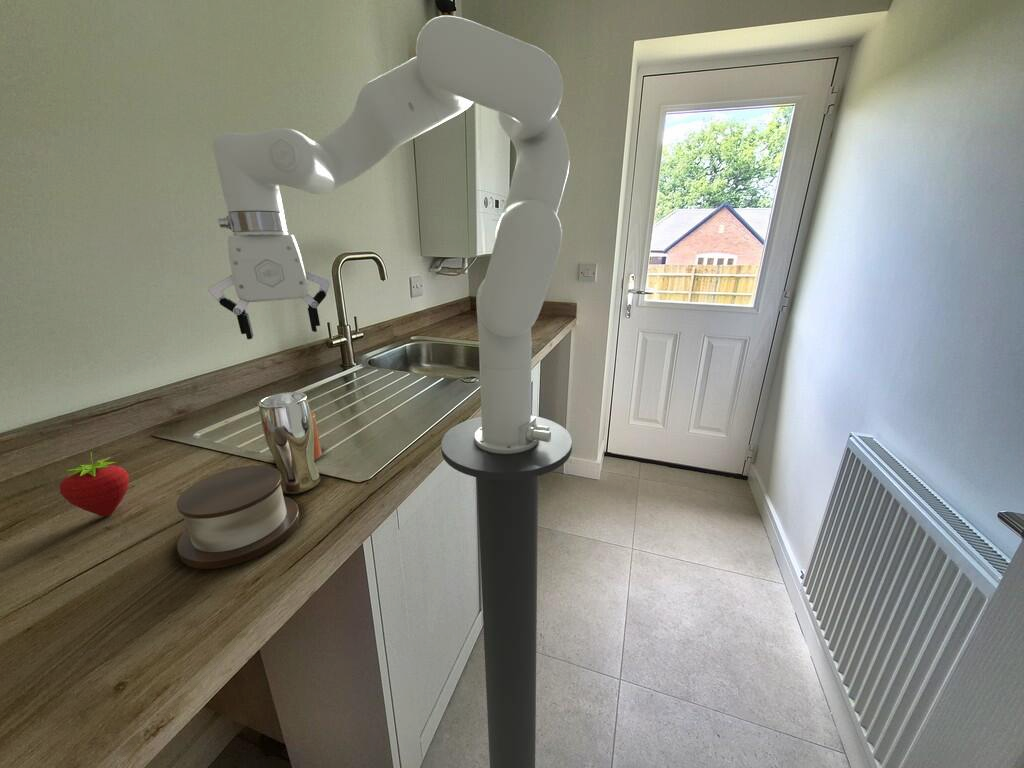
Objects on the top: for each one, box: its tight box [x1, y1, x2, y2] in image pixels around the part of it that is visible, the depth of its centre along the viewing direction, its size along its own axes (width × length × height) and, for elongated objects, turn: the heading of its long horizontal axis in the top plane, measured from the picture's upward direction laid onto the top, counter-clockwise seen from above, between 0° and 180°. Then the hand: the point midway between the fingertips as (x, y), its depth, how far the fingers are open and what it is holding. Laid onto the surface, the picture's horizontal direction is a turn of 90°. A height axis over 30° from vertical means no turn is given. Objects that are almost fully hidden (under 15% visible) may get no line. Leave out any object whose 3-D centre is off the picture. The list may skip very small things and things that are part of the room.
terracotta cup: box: [310, 410, 323, 462], centre depth 75 cm, size 7×7×8 cm
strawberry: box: [59, 451, 130, 518], centre depth 58 cm, size 6×8×10 cm
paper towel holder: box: [176, 464, 301, 570], centre depth 55 cm, size 14×14×7 cm
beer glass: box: [258, 391, 321, 495], centre depth 65 cm, size 7×7×15 cm
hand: (283, 334), depth 69 cm, fingers open, 9 cm apart
